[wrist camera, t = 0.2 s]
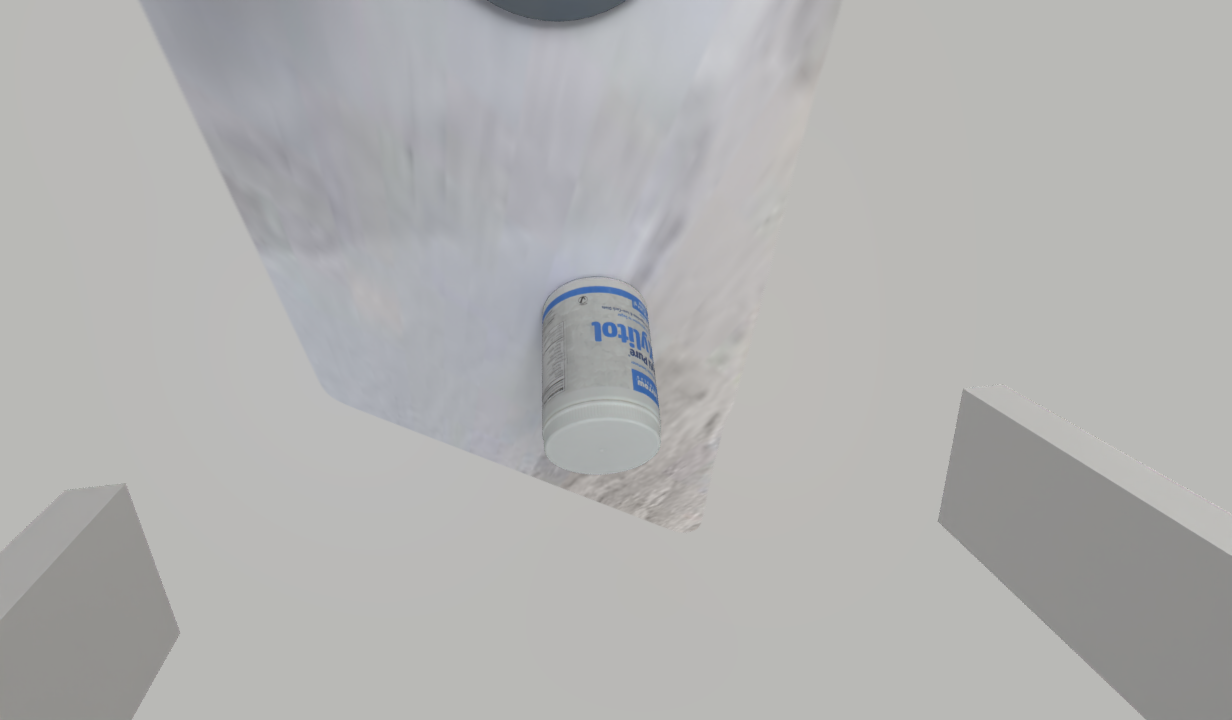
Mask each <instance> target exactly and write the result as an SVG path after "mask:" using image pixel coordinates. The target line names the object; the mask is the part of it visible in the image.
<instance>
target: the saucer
mask: <svg viewBox="0 0 1232 720" xmlns="http://www.w3.org/2000/svg"><path fill="white" fill-rule="evenodd" d="M488 1H490V2H491V3H493V4H495V5H496V6H498V7H501V8H503V9H505V10H507V11H509V12H511V13H514V14H518V15H521V16H524V17H527V18H532V19H538V20H543V21H570V20H578V19H583V18H587V17H591V16H594V15H597V14H600V13H603V12H606V11H608V10H610V9H612V8H613V7H615V6H617V5H619V4H621V3H623V2H624V1H625V0H488Z"/></svg>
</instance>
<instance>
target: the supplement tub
mask: <svg viewBox="0 0 1232 720" xmlns="http://www.w3.org/2000/svg"><path fill="white" fill-rule="evenodd" d="M542 430H543V432H542V435H543V440H544V451H545V454H546V456H547V458H548V459H549V460H550V461H551V462H552V463H553V464H555V465H556V466H558V467H560V468H562V469H565V470H568V471H571V472H575V473H581V474H593V475H602V474H613V473H619V472H623V471H627V470H630V469H634V468H636V467H638V466H641V465H643V464H644V463H646V462H648V461H649V460H650V459H652V458H653V457H654V456H655V455H656V454H657V452H658V451H659V448H660V443H661V440H660V430H661V428H660V412H659V403H658V395H657V387H656V378H655V370H654V362H653V354H652V346H651V338H650V330H649V322H648V314H647V307H646V304H645V301H644V299H643V297H642V296H641V295H640V293H639V292H638V291H637V290H636V289H634V288H633V287H632V286H630V285H628V284H627V283H625V282H622V281H620V280H616V279H612V278H605V277H589V278H582V279H577V280H574V281H571V282H569V283H567V284H565V285H563V286H561V287H559V288H558V289H557V290H555V291H554V292H553V293H552V294H551V295H550V297H549V298H548V299H547V301H546V303H545V305H544V308H543V330H542Z"/></svg>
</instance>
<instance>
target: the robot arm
mask: <svg viewBox="0 0 1232 720" xmlns="http://www.w3.org/2000/svg"><path fill="white" fill-rule="evenodd" d="M938 522H939V523H940V524H941V525H942V526H943V527H944V528H945V529H946V530H947V531H948V532H949V533H951V535H953V536H954V537H955V538H956V539H957V540H958V541H959V542H960V543H961V544H962V545H963V546H964V547H965V548H966V549H967V550H968V551H969V552H971V554H973V555H974V556H975V557H976V558H977V559H978V560H979V561H980V562H981V563H982V564H983V565H984V566H985V567H986V568H987V569H988V570H989V571H990V572H992V573H993V574H994V575H995V576H996V577H997V578H998V579H999V580H1000V581H1001V582H1002V583H1003V584H1004V585H1005V586H1006V587H1007V588H1008V589H1010V591H1012V592H1013V593H1014V594H1015V595H1016V596H1017V597H1018V598H1019V599H1020V600H1021V601H1022V602H1023V603H1024V604H1025V605H1026V606H1027V607H1028V608H1029V609H1031V610H1032V611H1033V612H1034V613H1035V614H1036V615H1037V616H1038V617H1039V618H1040V619H1041V620H1042V621H1043V622H1044V623H1045V624H1046V625H1047V626H1049V628H1050V629H1051V630H1053V631H1054V632H1055V633H1056V634H1057V635H1058V636H1059V637H1060V638H1061V639H1062V640H1063V641H1064V642H1065V643H1066V644H1067V645H1068V646H1069V647H1070V648H1071V649H1072V650H1074V651H1075V652H1076V653H1077V654H1078V655H1079V656H1080V657H1081V658H1082V659H1083V660H1084V661H1085V662H1086V663H1087V664H1088V665H1089V666H1090V667H1091V668H1092V669H1094V670H1095V671H1096V672H1097V673H1098V674H1099V675H1100V676H1101V677H1102V678H1103V679H1104V680H1105V681H1106V682H1107V683H1108V684H1109V685H1110V686H1111V687H1112V688H1114V689H1115V690H1116V691H1117V692H1118V693H1119V694H1120V695H1121V696H1122V697H1123V698H1124V699H1125V700H1126V701H1127V702H1128V703H1129V704H1130V705H1131V706H1132V707H1134V708H1135V709H1136V710H1137V711H1138V712H1139V713H1140V714H1141V715H1142V716H1143V717H1144V718H1145V719H1147V720H1232V514H1231V513H1229V512H1228V511H1226V510H1224V509H1222V508H1220V507H1218V506H1217V505H1215V504H1213V503H1212V502H1210V501H1208V500H1206V499H1204V498H1203V497H1201V496H1199V495H1197V494H1196V493H1194V492H1192V491H1190V490H1188V489H1187V488H1185V487H1183V486H1182V485H1180V484H1178V483H1176V482H1175V481H1173V480H1171V479H1169V478H1167V477H1166V476H1164V475H1162V474H1160V473H1159V472H1157V471H1155V470H1153V469H1152V468H1150V467H1148V466H1146V465H1144V464H1143V463H1141V462H1139V461H1137V460H1136V459H1134V458H1132V457H1130V456H1128V455H1127V454H1125V453H1123V452H1121V451H1120V450H1118V449H1116V448H1115V447H1113V446H1111V445H1109V444H1107V443H1105V442H1104V441H1102V440H1100V439H1099V438H1097V437H1095V436H1093V435H1091V434H1090V433H1088V432H1086V431H1084V430H1082V429H1081V428H1079V427H1077V426H1076V425H1074V424H1072V423H1070V422H1069V421H1067V420H1065V419H1063V418H1061V417H1060V416H1058V415H1056V414H1054V413H1053V412H1051V411H1049V410H1047V409H1045V408H1044V407H1042V406H1040V405H1039V404H1037V403H1035V402H1033V401H1032V400H1030V399H1028V398H1026V397H1024V396H1023V395H1021V394H1019V393H1017V392H1015V391H1014V390H1012V389H1010V388H1009V387H1007V386H1005V385H1003V384H1001V385H992V386H983V387H974V388H965V389H963V392H962V397H961V403H960V408H959V414H958V419H957V424H956V429H955V434H954V440H953V445H952V450H951V456H950V461H949V466H948V471H947V477H946V482H945V488H944V493H943V498H942V503H941V508H940V513H939V519H938ZM179 634H180V631H179V628H178V625H177V622H176V620H175V617H174V614H173V611H172V609H171V606H170V603H169V601H168V598H167V595H166V592H165V590H164V587H163V584H162V581H161V579H160V576H159V573H158V571H157V568H156V565H155V562H154V559H153V557H152V554H151V551H150V549H149V546H148V543H147V540H146V538H145V535H144V532H143V529H142V527H141V524H140V521H139V518H138V516H137V513H136V510H135V507H134V505H133V502H132V499H131V497H130V494H129V491H128V489H127V486H126V484H125V483H123V484H115V485H106V486H97V487H88V488H79V489H70V490H65V491H64V492H63V493H62V494H61V495H60V496H58V497H57V498H56V499H55V500H54V501H53V502H52V503H51V504H50V505H49V506H48V507H47V508H46V509H45V510H44V511H43V512H42V513H41V514H40V515H39V516H37V517H36V518H35V519H34V520H33V521H32V522H31V523H30V524H29V525H28V526H27V527H26V528H25V529H24V530H23V531H22V532H21V533H20V534H19V535H17V537H15V538H14V539H13V540H12V541H11V542H10V543H9V544H8V545H7V546H6V547H5V548H4V549H3V550H2V551H1V552H0V720H132V718H133V716H134V714H135V713H136V711H137V709H138V707H139V706H140V704H141V702H142V700H143V698H144V697H145V695H146V693H147V691H148V689H149V688H150V686H151V684H152V682H153V680H154V679H155V677H156V675H157V674H158V671H159V670H160V668H161V666H162V665H163V663H164V661H165V659H166V657H167V655H168V654H169V652H170V650H171V649H172V647H173V645H174V643H175V641H176V640H177V638H178V636H179Z"/></svg>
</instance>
